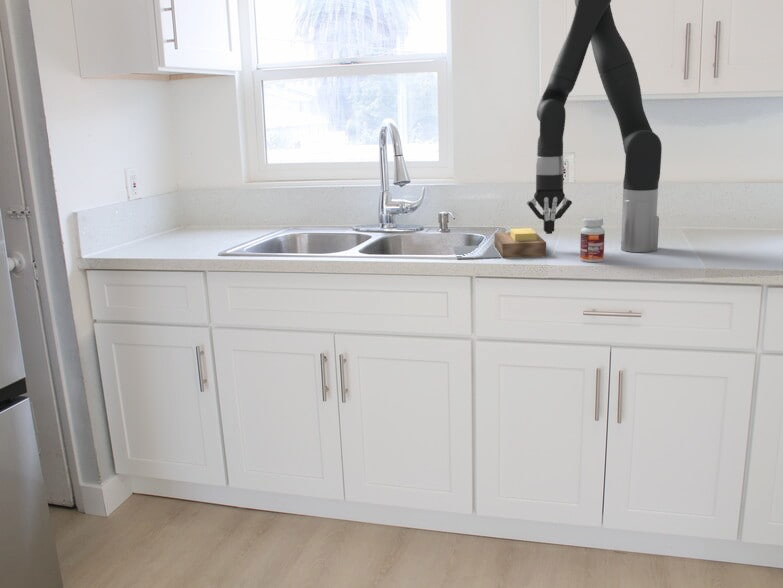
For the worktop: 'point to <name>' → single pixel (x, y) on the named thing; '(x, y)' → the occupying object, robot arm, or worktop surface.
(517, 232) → the yellow rectangular block
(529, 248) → the brown wooden block
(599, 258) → the pill bottle
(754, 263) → the worktop surface
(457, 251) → the mat
